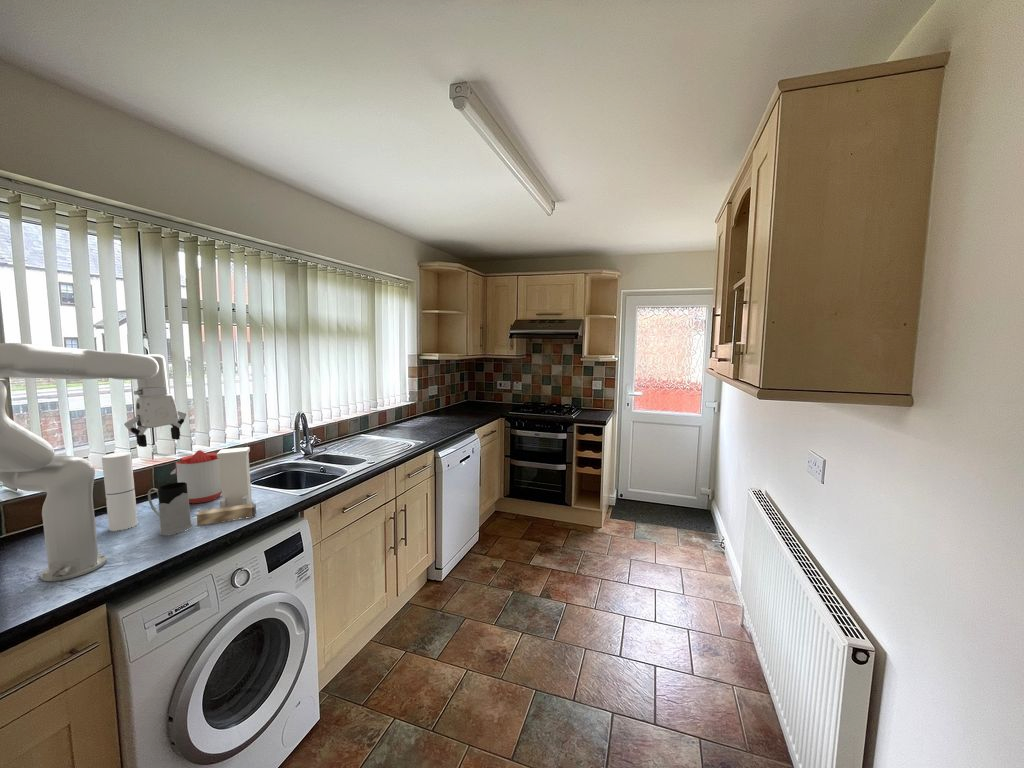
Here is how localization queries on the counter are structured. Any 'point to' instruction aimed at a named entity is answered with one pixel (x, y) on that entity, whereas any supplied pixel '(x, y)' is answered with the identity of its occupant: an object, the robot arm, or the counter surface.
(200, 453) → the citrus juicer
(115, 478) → the cylindrical container
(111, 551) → the counter surface
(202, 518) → the rail
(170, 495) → the grey mug
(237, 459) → the tall white box
